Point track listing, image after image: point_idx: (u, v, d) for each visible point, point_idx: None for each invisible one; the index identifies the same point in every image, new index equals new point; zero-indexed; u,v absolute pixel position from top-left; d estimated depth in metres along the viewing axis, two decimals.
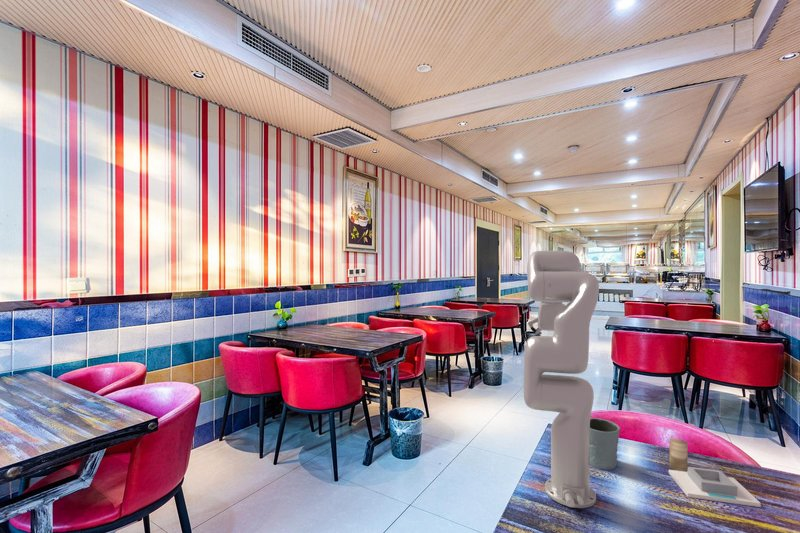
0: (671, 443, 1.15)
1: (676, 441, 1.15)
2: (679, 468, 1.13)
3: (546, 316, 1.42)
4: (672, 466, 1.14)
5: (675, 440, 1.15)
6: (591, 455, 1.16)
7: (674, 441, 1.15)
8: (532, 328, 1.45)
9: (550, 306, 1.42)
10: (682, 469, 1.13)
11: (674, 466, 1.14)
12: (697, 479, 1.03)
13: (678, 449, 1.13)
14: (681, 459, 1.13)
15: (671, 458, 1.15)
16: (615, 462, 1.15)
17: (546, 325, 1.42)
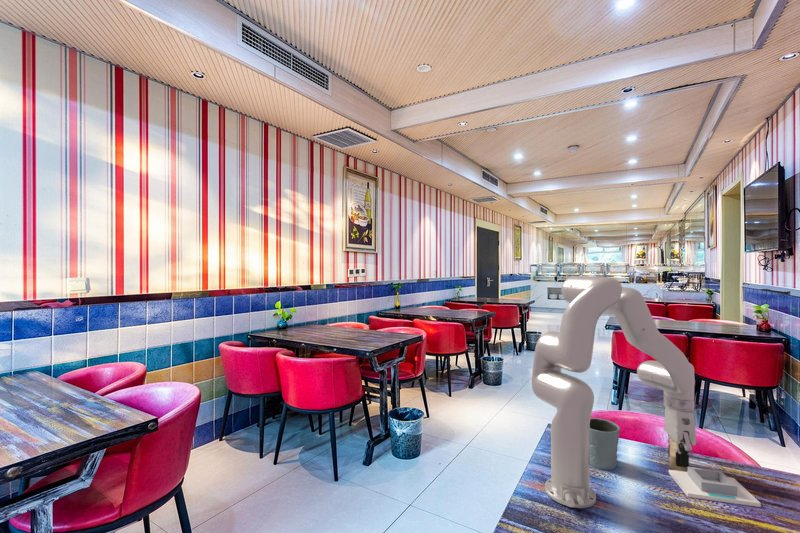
0: (671, 443, 1.15)
1: None
2: (679, 468, 1.13)
3: None
4: (672, 466, 1.14)
5: None
6: (591, 455, 1.16)
7: (674, 441, 1.15)
8: None
9: None
10: (682, 469, 1.13)
11: (674, 466, 1.14)
12: (697, 479, 1.03)
13: None
14: None
15: (671, 458, 1.15)
16: (615, 462, 1.15)
17: None
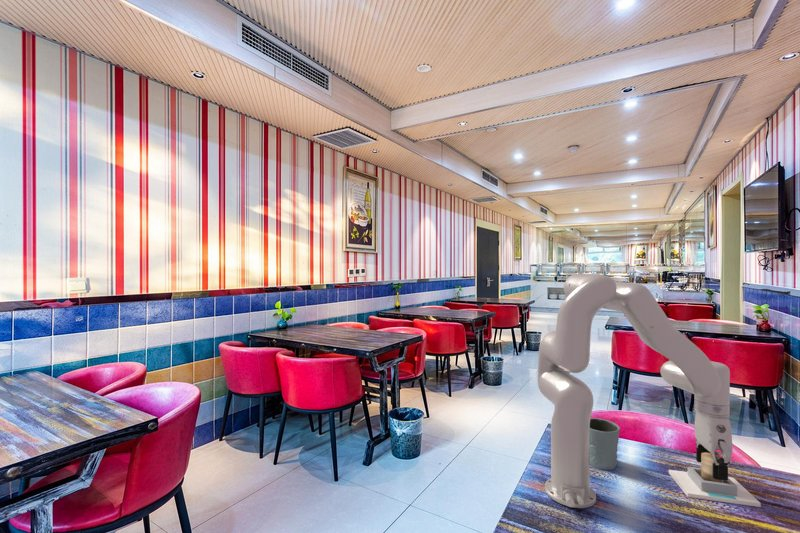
0: (703, 458, 1.04)
1: (709, 455, 1.04)
2: None
3: None
4: None
5: (708, 455, 1.04)
6: (591, 455, 1.16)
7: (707, 456, 1.04)
8: None
9: None
10: None
11: None
12: (697, 479, 1.03)
13: (711, 465, 1.02)
14: None
15: (704, 475, 1.04)
16: (615, 462, 1.15)
17: None
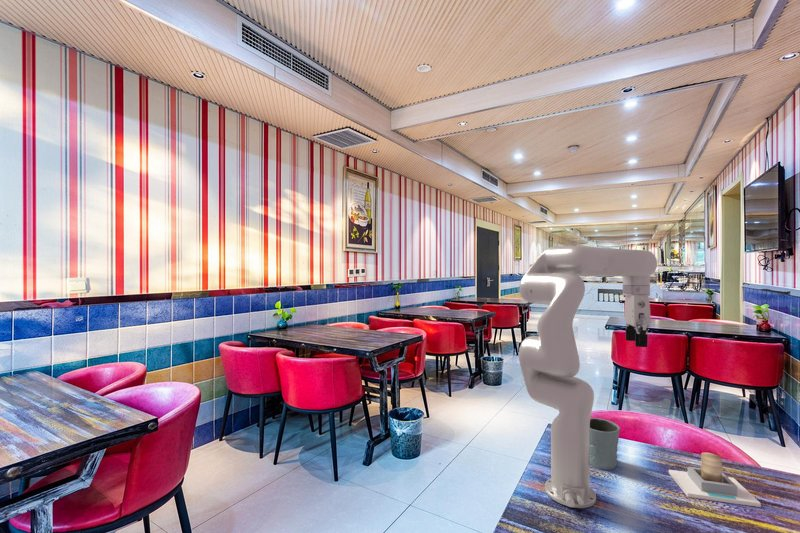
0: (704, 458, 1.04)
1: (709, 455, 1.04)
2: None
3: None
4: None
5: (708, 455, 1.04)
6: (591, 455, 1.16)
7: (707, 456, 1.04)
8: (646, 328, 1.15)
9: None
10: None
11: None
12: (697, 479, 1.03)
13: (712, 465, 1.02)
14: (716, 476, 1.02)
15: (704, 475, 1.04)
16: (615, 462, 1.15)
17: None
